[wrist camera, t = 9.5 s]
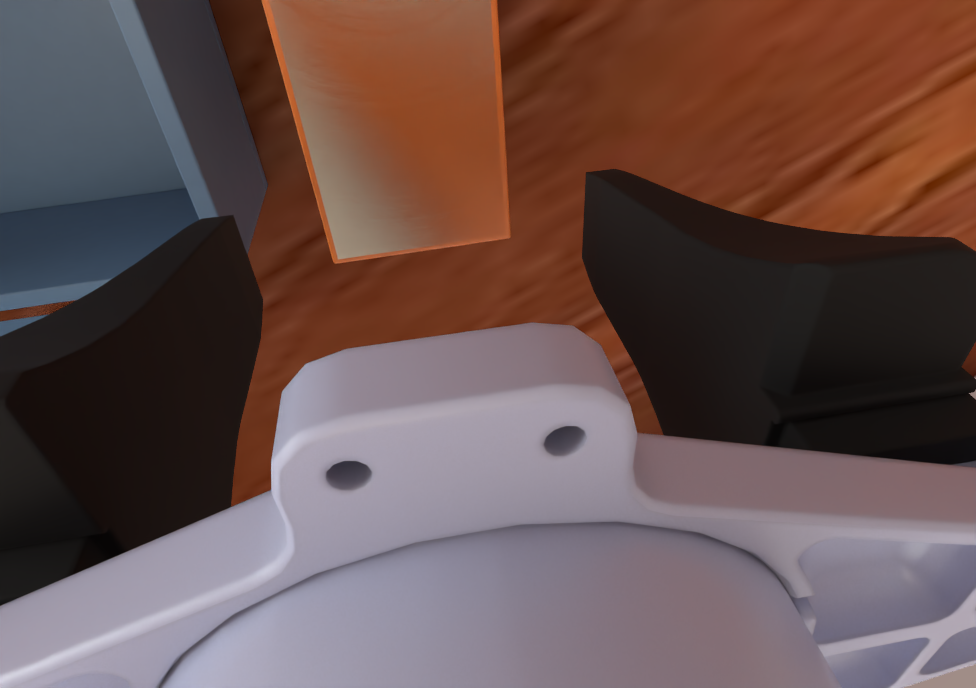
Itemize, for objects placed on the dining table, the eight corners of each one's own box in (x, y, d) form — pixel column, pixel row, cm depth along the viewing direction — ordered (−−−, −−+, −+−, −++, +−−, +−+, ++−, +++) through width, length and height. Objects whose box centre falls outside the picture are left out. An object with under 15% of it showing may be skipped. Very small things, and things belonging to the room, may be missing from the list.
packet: (471, 135, 21) (511, 239, 16) (342, 152, 21) (333, 265, 15) (449, -93, 17) (493, -68, 11) (289, -76, 17) (249, -42, 11)
